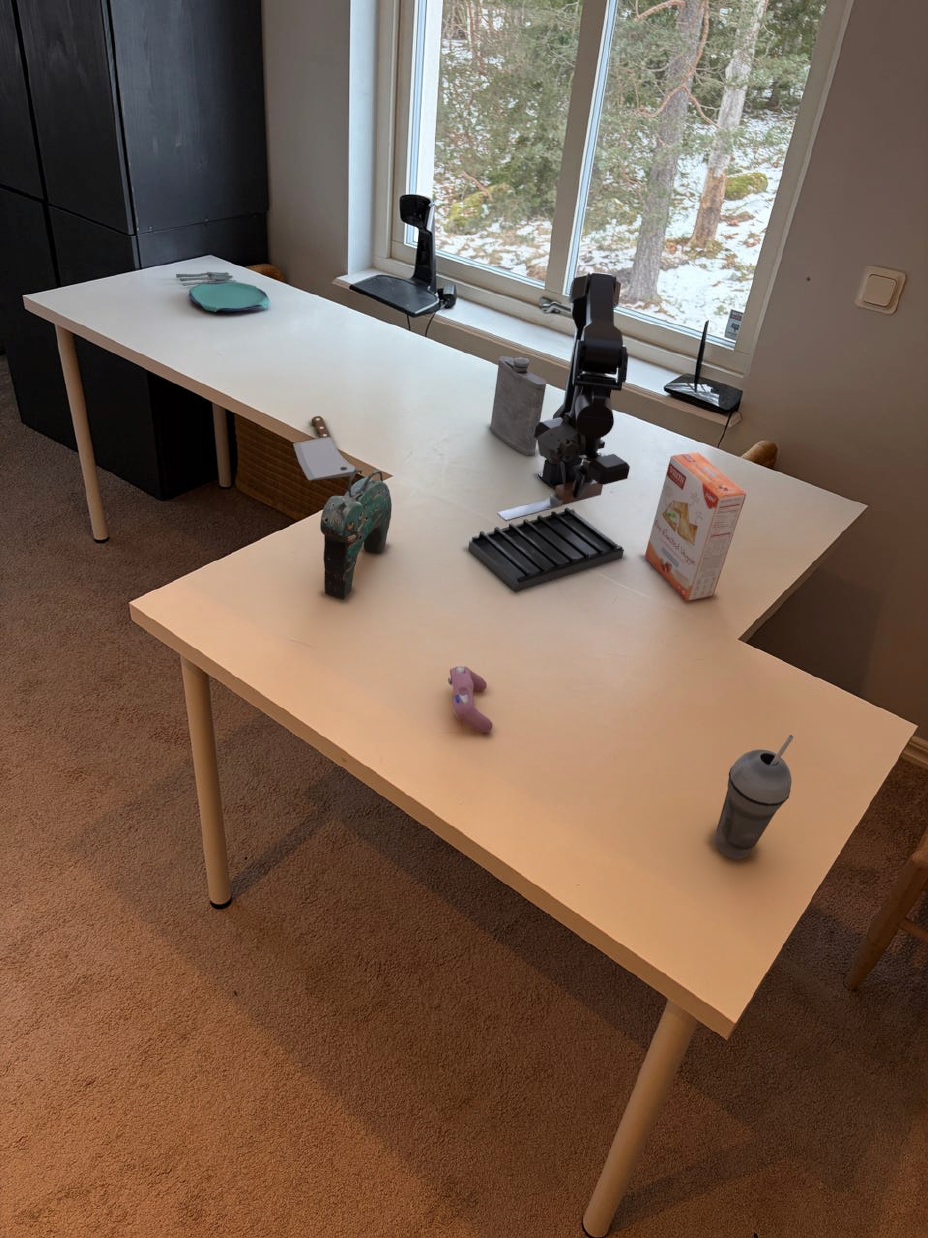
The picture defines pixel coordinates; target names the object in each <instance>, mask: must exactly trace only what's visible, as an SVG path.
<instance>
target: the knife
mask: <svg viewBox="0 0 928 1238" xmlns="http://www.w3.org/2000/svg"><path fill="white" fill-rule="evenodd" d="M575 482H576V481H573V482H569V483H565V484H561V485H557V486H556V489H554V491H555V492H554V493H552V494H550V497H549V498H547V499H544V500H540V501H539V500H538V501H535V502H532V503H528V504H524V505H521V506H517V507H513V508H509V509H505V510H502V511H497V512H496V515H497V516H499V518H501V519H502V520H503V521H505V522H509V521H513V520H517V519H520V518H524V517H528V516H532V515H535V514H538V513H539V514H540V513H543V512H546V511H550V510H554V509H557V508H561V507H563V506H565V505H569V504H573V503H576V502H580V501H583V500H584V501H585V500H588V499H591V498H595V497H598V496H601V495H602V492H603V487H604V485H602V484H599V483H597V482H596V481H595V480H593V481H592V483H591V484H590V485H589V486H588V488H587V489H586V490H585V491H584V493H583V494H582V495H581V496H580V497H579V498H574V488H575Z"/></svg>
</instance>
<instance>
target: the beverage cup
mask: <svg viewBox="0 0 928 1238" xmlns="http://www.w3.org/2000/svg"><path fill="white" fill-rule="evenodd" d="M793 739H794V735H793V734H789V735H788V736H787V738H786V740H785V741H784V743H783V744H782V745H781V747H780V749H779V750H778V751H777V753H776V752H773V751H771V750H767V749H753V750H750V751H748V752H745V753H744V754H742V755H741V756H739V758H738V759H736V760H735V762H734V763H733V765H732V766H731V767H730V769H729V772H728V779H727V790H726V794H725V797H724V802H723V804H722V809H721V812H720V816H719V820H718V824H717V826H716V831H715V837H714V846H715V847H716V849H717V850H718V851H719V853H720V854H722V855H723V856H724V857H727V858H729V859H731V860H743V859H746V858H748V856H749V855H750V854H751V852H752V850H753V849H754V848H756V845H757V844H758V842H759V840H760V839H761V837H762V836H763V834H764V833H765V830H766V829H767V827H768V826H769V824H770V823H771V821H772V820H773V817H774V816H775V815H776V812H777V811H778V810H779V809H780V808H781V807H782V806H783V805H784V804H785V802H786V801H787V800H789V797H790V795H791V789H792V775H791V770H790V768H789V767H788V764H787V763H786V761H785V760H784V759H783V758H782V756H783V755H784V753H785V752H786V750H787V748H788V747H789V745H790V744H791V742H792V741H793Z"/></svg>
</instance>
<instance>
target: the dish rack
mask: <svg viewBox="0 0 928 1238" xmlns="http://www.w3.org/2000/svg"><path fill="white" fill-rule="evenodd" d="M493 528H494V529H493V531H490V532H485V531H483V530H481V531H479V533H478V535H475V536H472V538H471V540H469V541H468V547H467V548H468V549H467V550H468V552H470V553H471V554H472V555H473V556H474V557H476V559H478V560H479V561H480V562H481V563H482V564H483V565H484V566H486V568H487V569H489V571H491V572H492V573H493V574H494V575H495V576H496V577H497V578H498V579H500V580H501V581H502V582H503V583H504V584H505V585H506V586H507V587H509V588H510V589H511V590H512V591H513V592H514V593H517V592H521V591H524V590H527V589H531V588H534V587H537V586H539V585H542V584H546V583H549V582H552V581H555V580H558V579H561V578H565V577H567V576H570V575H574V574H576V573H580V572H582V571H586V570H589V569H592V568H595V567H598V566H601V565H604V564H607V563H611V562H614V561H616V560H620V559H623V556H624V552H625V549H624V548H623V546H622V545H619V544H618V543H616V542H615V541H614V540H613V539H611V538H610V537H608V535H606V534H605V533H603V532H602V531H601V530H599V529H598V528H596V526H594V525H593V524H592V523H590V522H589V521H587V520H586V519H585V518H584V517H582V516H581V515H580V514H578V513H577V512H576V510H575V509H574V508H572V509H570V508H569V507H565V508H564V509H563V511H561V512H558V513H557V512H555V511H551V512H550V515H546V516H542V515H541V514H539V515H537V516H536V518H535V519H532V520H528V519H527V518H525V519H523V520H522V523H518V524H514V523H513V522H510V523H509V524H508V526H507V527H504V528H499V526H496V527H493Z"/></svg>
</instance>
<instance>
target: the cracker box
mask: <svg viewBox="0 0 928 1238" xmlns="http://www.w3.org/2000/svg"><path fill="white" fill-rule="evenodd" d="M659 496H660V498H659V499H658V503H657V508H656V512H655V515H654V519H653V523H652V527H651V531H650V534H649V539H648V542H647V544H646V545H647V546H646V550H645V553H644V558H646V559H647V561H648V562H650V564H651V565H653V567H654V568H655V569H656V570H657V571H658V573H659V574H661V575H662V577H663V578H664V579H665V580H666V581H667V582H668V583H669V584H670V585H671V587H673V588H674V589H675V591H677V592H678V593H679V595H680V596H682V599H684V600H685V601H686V602H689V601H690V602H691V601H694V600H701V599H705V598H706V599H707V598H710V597H714V595H715V592H716V589H717V586H718V583H719V580H720V577H721V574H722V571H723V567H724V565H725V562H726V558H727V555H728V552H729V548H730V546H731V542H732V540H733V537H734V534H735V531H736V528H737V525H738V521H739V518H740V515H741V513H742V509H743V507H744V503H745V500H746V497H747V492H746V491H745V490H744V489H742V488H741V487H740V486H738V485H737V484H736V483H735V482H734V481H732V480H731V478H729V477H728V475H725V473H724V472H722V471H721V470H720V469H718V468H717V467H716V465H714V464H713V463H711V462H710V461H709V460H708V459H707V458H706V457H704V455H702V454H701V453H700V452H698V451H697V452H689V453H680V454H675V455H671V456H670V460H669V462H668V466H667V470H666V474H665V478H664V480H663V485H662V489H661V493H660V495H659Z"/></svg>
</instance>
